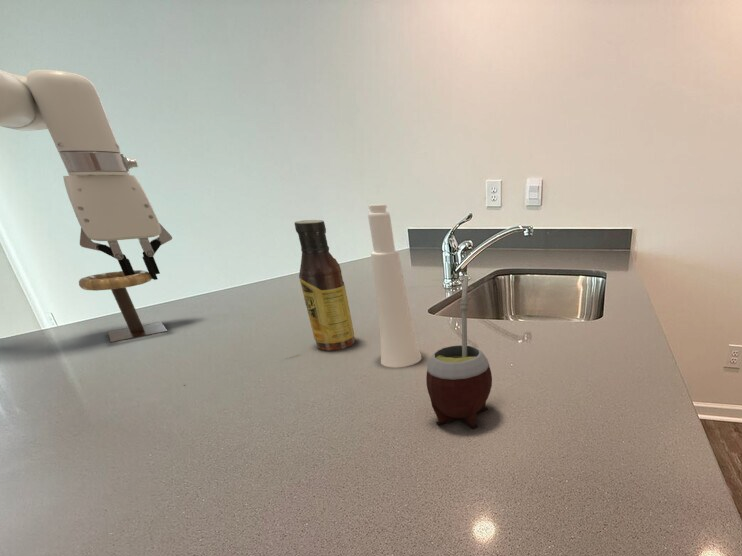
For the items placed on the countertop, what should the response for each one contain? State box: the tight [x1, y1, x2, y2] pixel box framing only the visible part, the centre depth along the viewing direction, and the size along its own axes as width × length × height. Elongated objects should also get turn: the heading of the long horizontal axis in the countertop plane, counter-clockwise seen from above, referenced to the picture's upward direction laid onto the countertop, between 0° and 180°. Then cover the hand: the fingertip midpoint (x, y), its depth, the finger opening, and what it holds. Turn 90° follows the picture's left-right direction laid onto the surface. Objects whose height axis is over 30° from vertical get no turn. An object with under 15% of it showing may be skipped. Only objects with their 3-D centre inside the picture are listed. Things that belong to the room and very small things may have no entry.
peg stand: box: [107, 287, 168, 344], centre depth 74 cm, size 8×8×10 cm
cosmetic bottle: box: [367, 203, 422, 368], centre depth 57 cm, size 6×6×22 cm
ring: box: [78, 269, 153, 292], centre depth 72 cm, size 10×10×2 cm
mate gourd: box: [425, 275, 493, 430], centre depth 44 cm, size 8×8×15 cm
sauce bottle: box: [294, 219, 356, 352], centre depth 64 cm, size 6×6×20 cm
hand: (144, 279), depth 74 cm, fingers closed on ring, 2 cm apart
